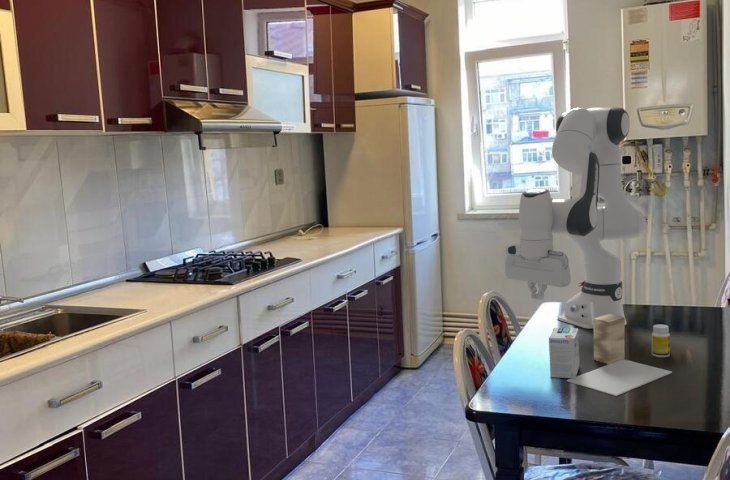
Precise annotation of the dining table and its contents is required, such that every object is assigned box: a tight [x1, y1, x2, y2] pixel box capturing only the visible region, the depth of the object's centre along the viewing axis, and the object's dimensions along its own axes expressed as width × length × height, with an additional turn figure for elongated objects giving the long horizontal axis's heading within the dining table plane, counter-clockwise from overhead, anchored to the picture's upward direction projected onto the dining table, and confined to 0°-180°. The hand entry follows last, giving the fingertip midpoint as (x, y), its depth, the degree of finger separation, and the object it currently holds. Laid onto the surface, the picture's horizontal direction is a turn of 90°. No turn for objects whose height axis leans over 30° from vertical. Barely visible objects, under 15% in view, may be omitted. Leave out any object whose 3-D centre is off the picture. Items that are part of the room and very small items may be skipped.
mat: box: [566, 359, 673, 397], centre depth 176 cm, size 14×24×1 cm, turn 125°
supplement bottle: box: [651, 323, 671, 358], centre depth 190 cm, size 5×5×8 cm
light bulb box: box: [548, 327, 580, 379], centre depth 181 cm, size 11×7×11 cm, turn 157°
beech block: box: [593, 314, 626, 365], centre depth 189 cm, size 5×7×12 cm
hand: (537, 298), depth 186 cm, fingers closed
